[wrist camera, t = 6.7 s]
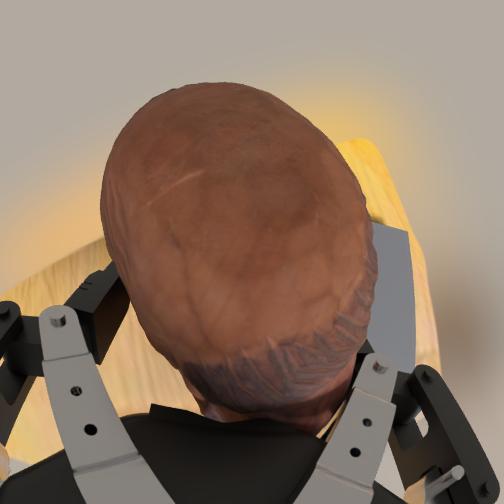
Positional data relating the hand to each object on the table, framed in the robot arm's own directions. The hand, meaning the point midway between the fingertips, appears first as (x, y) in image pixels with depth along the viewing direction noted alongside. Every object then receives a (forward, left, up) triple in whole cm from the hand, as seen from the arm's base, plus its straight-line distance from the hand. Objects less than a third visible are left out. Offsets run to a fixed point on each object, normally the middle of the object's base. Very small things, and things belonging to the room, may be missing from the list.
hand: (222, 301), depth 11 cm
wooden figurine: (-1, 0, -10) cm, 10 cm away
